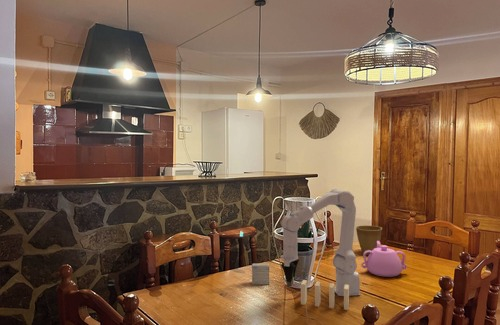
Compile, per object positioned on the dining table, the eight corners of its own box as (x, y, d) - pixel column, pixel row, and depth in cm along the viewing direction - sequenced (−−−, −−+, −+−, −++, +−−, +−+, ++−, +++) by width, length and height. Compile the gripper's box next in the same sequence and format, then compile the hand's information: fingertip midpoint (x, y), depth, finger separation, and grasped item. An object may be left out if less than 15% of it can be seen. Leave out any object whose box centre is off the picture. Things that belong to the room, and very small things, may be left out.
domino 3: (320, 301, 145) (320, 281, 144) (318, 306, 140) (318, 286, 140) (316, 301, 145) (316, 281, 145) (314, 306, 140) (314, 285, 140)
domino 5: (348, 305, 141) (348, 284, 141) (348, 310, 136) (348, 289, 136) (344, 304, 142) (344, 284, 142) (343, 309, 137) (343, 288, 137)
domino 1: (293, 282, 148) (293, 262, 148) (290, 286, 143) (290, 266, 143) (289, 281, 148) (289, 262, 148) (287, 286, 144) (286, 266, 144)
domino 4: (334, 303, 143) (334, 283, 143) (333, 308, 138) (333, 287, 138) (330, 302, 143) (330, 282, 143) (329, 307, 139) (329, 287, 139)
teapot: (398, 266, 192) (398, 240, 192) (412, 279, 171) (412, 250, 170) (356, 265, 194) (356, 239, 194) (365, 278, 173) (365, 249, 173)
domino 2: (306, 300, 146) (306, 280, 146) (304, 304, 142) (304, 284, 141) (303, 299, 147) (302, 280, 147) (300, 304, 142) (300, 284, 142)
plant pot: (364, 249, 227) (364, 224, 227) (386, 254, 215) (386, 227, 215) (350, 253, 217) (350, 227, 217) (373, 259, 206) (373, 231, 206)
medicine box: (268, 281, 168) (268, 263, 168) (269, 284, 164) (269, 266, 164) (251, 281, 168) (251, 263, 168) (252, 285, 164) (252, 266, 164)
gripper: (284, 241, 154) (284, 272, 154) (276, 249, 140) (276, 284, 140) (301, 242, 152) (301, 274, 152) (294, 250, 138) (294, 285, 138)
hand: (290, 279), depth 146 cm, fingers closed on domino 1, 5 cm apart
